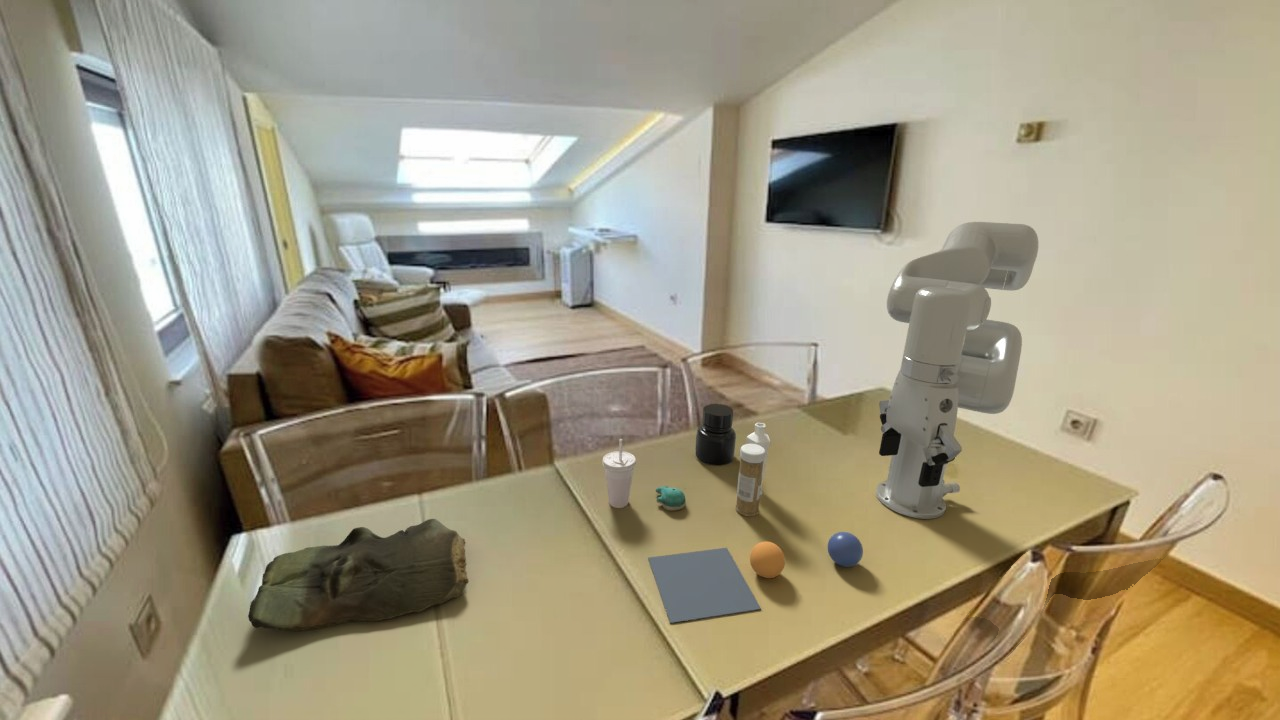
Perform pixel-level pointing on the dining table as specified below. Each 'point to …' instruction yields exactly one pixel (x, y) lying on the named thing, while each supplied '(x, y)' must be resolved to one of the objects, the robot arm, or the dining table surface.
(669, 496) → the whale figurine
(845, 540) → the blue ball
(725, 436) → the ink bottle
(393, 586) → the stone head
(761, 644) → the dining table surface
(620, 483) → the smoothie
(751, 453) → the sprinkles bottle
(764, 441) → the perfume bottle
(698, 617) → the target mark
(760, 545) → the orange ball
